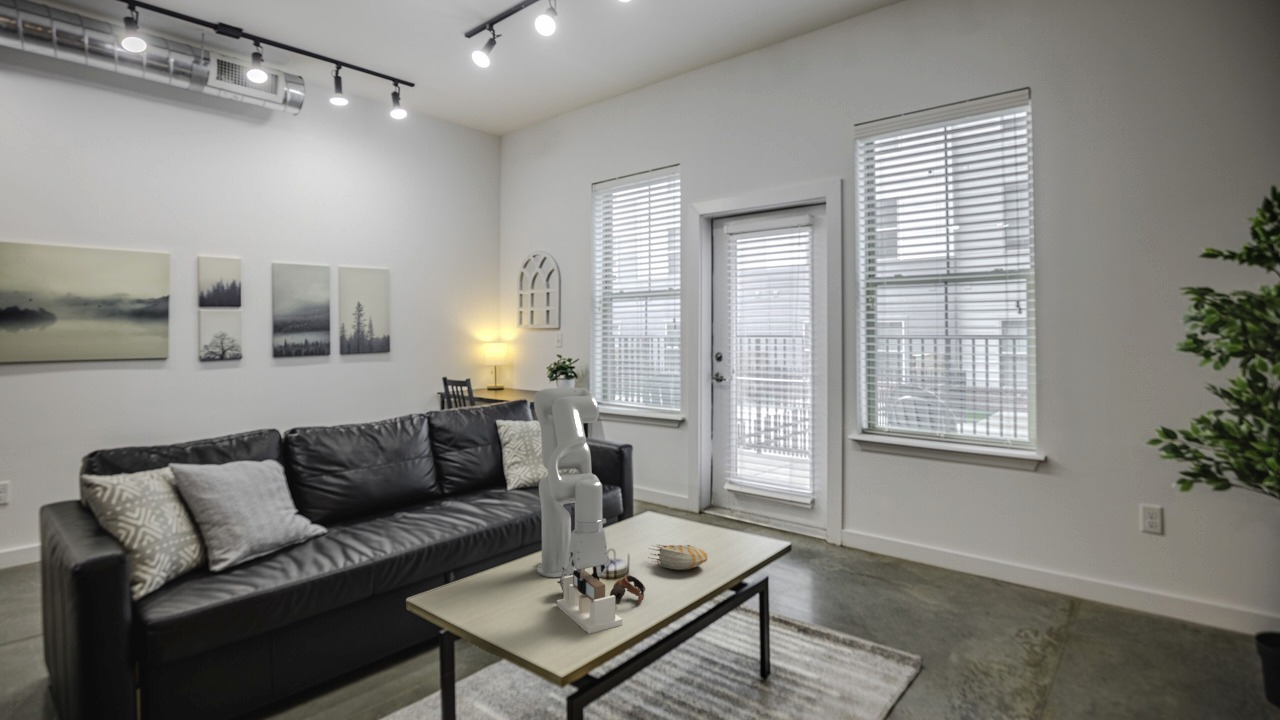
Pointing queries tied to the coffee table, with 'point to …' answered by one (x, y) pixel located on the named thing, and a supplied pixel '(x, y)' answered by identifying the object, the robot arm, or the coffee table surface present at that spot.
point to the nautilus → (680, 556)
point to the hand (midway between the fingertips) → (588, 590)
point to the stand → (588, 609)
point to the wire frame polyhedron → (563, 578)
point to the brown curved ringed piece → (628, 588)
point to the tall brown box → (592, 586)
